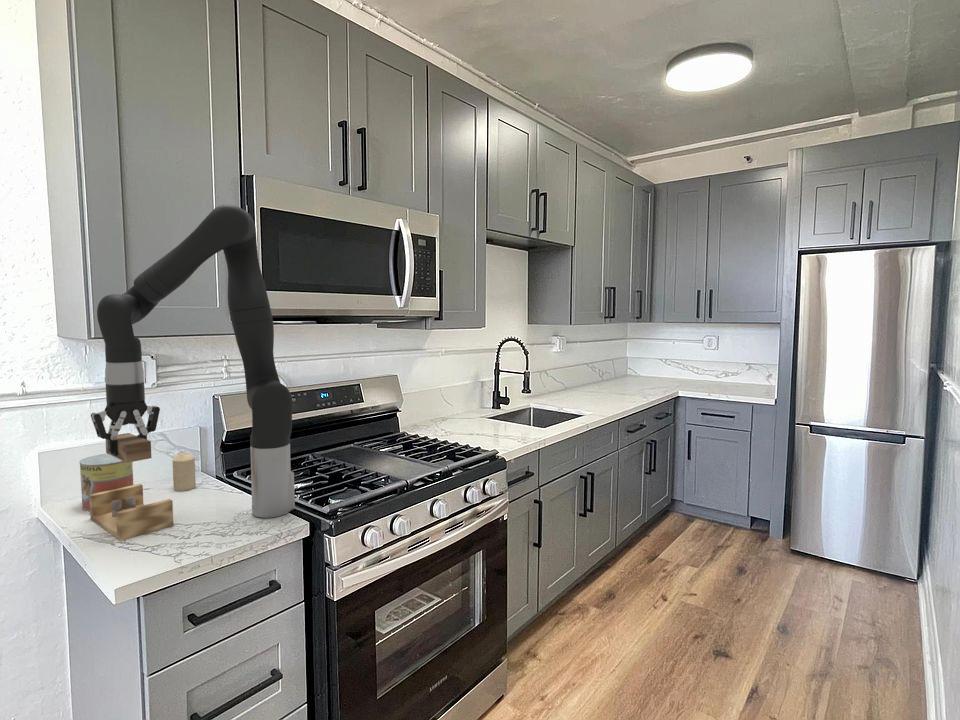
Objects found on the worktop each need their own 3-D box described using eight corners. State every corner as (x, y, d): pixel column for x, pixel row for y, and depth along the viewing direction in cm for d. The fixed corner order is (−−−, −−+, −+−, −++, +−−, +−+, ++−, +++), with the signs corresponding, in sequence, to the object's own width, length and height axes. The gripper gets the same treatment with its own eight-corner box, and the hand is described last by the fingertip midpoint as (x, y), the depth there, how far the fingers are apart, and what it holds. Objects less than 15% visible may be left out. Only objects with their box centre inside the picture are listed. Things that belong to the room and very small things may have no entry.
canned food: (73, 506, 139) (70, 460, 138) (120, 493, 149) (118, 450, 148) (95, 515, 133) (92, 467, 132) (143, 501, 143) (141, 456, 142)
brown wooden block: (151, 458, 126) (150, 441, 125) (127, 462, 122) (126, 445, 121) (129, 448, 134) (128, 432, 133) (106, 453, 130) (105, 436, 129)
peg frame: (141, 506, 139) (140, 483, 139) (173, 525, 128) (172, 500, 127) (90, 519, 131) (89, 494, 130) (120, 540, 119) (118, 513, 118)
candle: (189, 491, 151) (188, 456, 150) (169, 491, 151) (168, 456, 150) (199, 485, 157) (198, 451, 156) (180, 484, 157) (178, 450, 156)
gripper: (94, 385, 118) (98, 462, 120) (165, 379, 129) (168, 449, 131) (82, 382, 123) (86, 456, 124) (152, 376, 134) (155, 444, 136)
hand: (128, 452), depth 128 cm, fingers closed on brown wooden block, 5 cm apart
